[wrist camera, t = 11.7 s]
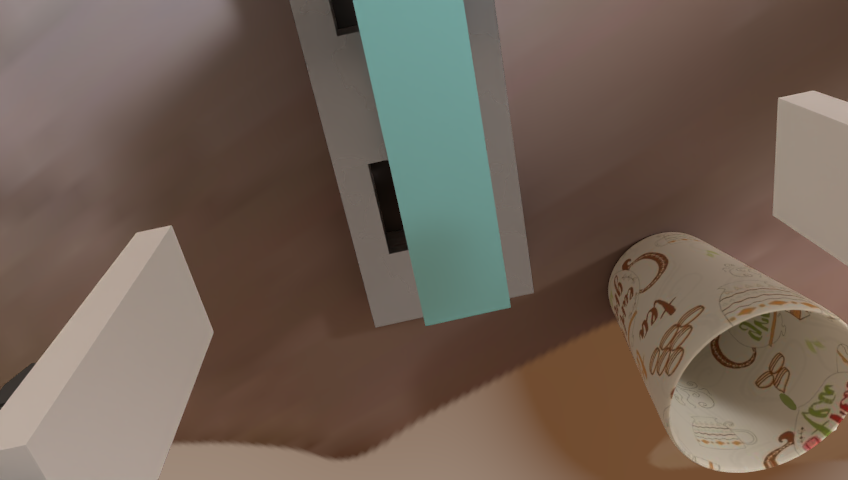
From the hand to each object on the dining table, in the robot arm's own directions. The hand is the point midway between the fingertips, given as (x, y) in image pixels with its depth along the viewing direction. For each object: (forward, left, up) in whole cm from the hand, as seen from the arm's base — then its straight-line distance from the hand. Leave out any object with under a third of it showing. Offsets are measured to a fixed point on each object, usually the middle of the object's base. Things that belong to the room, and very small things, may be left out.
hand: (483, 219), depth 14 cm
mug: (+15, +13, -17) cm, 26 cm away
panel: (0, 0, -17) cm, 17 cm away
